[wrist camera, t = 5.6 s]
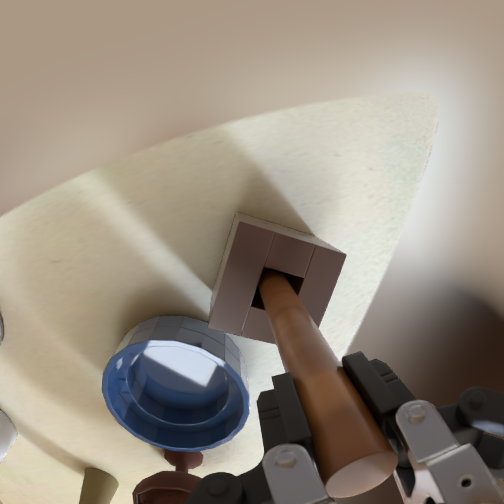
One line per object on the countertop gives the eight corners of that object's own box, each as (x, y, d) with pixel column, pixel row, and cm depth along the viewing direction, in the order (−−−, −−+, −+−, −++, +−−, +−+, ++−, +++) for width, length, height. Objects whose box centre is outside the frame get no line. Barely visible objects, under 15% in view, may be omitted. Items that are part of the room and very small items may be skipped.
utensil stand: (212, 291, 29) (207, 327, 22) (236, 211, 28) (239, 221, 20) (289, 312, 30) (308, 351, 23) (316, 236, 29) (347, 254, 21)
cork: (125, 483, 35) (112, 533, 25) (108, 491, 36) (94, 536, 25) (94, 464, 34) (76, 514, 23) (79, 473, 35) (61, 518, 24)
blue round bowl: (115, 397, 31) (100, 428, 25) (128, 294, 29) (107, 318, 23) (226, 426, 33) (227, 461, 27) (263, 332, 31) (270, 363, 25)
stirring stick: (252, 284, 26) (310, 499, 6) (260, 259, 25) (347, 453, 6) (276, 290, 26) (373, 494, 6) (285, 266, 26) (413, 449, 6)
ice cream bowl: (173, 481, 35) (164, 559, 21) (129, 438, 33) (103, 524, 18) (235, 468, 35) (241, 554, 21) (196, 421, 33) (188, 522, 18)
